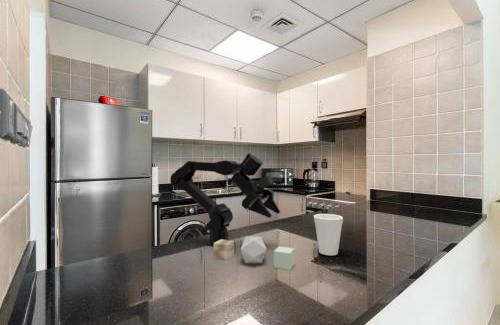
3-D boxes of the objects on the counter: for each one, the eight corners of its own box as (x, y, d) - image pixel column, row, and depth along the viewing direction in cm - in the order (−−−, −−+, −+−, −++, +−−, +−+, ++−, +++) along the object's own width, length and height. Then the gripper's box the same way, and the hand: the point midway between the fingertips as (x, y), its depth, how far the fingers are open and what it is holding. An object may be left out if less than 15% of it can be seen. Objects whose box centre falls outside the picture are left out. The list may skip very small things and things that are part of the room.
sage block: (273, 267, 74) (273, 251, 74) (279, 261, 79) (278, 246, 79) (290, 270, 72) (289, 253, 72) (294, 264, 77) (294, 248, 77)
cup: (344, 251, 89) (344, 215, 89) (342, 260, 80) (341, 220, 80) (316, 247, 93) (316, 212, 93) (311, 255, 84) (311, 217, 84)
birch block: (213, 258, 82) (213, 243, 82) (221, 253, 86) (221, 239, 87) (226, 260, 80) (226, 245, 80) (233, 255, 84) (233, 241, 85)
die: (257, 271, 73) (273, 242, 76) (233, 255, 74) (249, 227, 77) (256, 270, 80) (271, 244, 83) (234, 256, 82) (249, 230, 85)
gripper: (248, 168, 82) (281, 201, 76) (268, 169, 99) (296, 196, 93) (228, 192, 84) (259, 225, 79) (251, 189, 101) (278, 216, 96)
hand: (275, 214), depth 87 cm, fingers open, 9 cm apart
